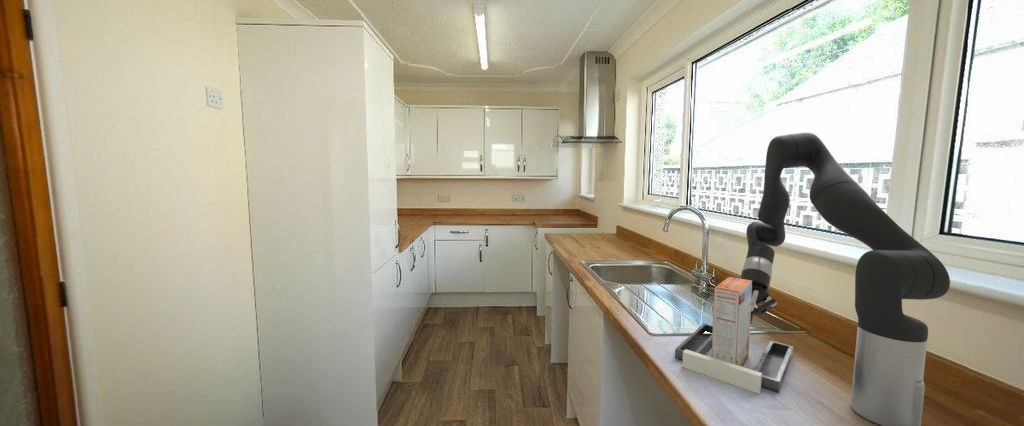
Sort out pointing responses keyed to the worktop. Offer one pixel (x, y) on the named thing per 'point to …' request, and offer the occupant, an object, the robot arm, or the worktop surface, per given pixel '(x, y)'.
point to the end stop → (722, 371)
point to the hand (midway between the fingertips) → (744, 324)
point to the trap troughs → (769, 364)
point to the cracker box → (732, 320)
